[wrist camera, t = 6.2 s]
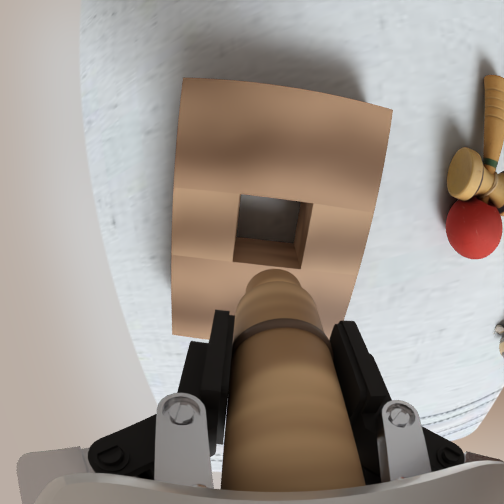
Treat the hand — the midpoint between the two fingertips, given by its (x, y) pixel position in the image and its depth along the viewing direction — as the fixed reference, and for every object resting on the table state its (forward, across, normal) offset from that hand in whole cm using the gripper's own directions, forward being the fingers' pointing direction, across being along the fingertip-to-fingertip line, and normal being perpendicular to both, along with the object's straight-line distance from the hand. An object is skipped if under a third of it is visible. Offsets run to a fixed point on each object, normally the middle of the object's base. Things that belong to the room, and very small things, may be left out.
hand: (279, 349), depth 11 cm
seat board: (+16, 0, -1) cm, 16 cm away
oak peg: (+4, 0, 0) cm, 4 cm away
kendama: (+17, -20, -9) cm, 27 cm away
